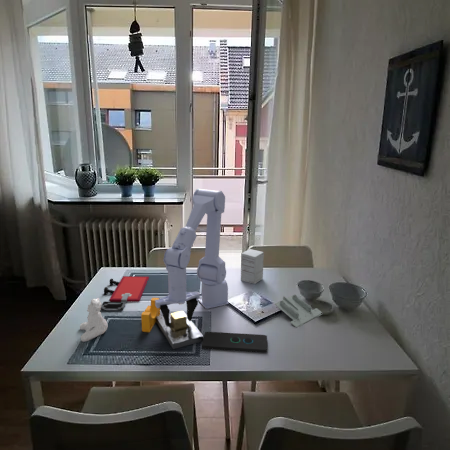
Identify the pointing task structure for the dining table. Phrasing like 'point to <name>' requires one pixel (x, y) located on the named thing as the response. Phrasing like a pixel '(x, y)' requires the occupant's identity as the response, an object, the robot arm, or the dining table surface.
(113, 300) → the red board with handle
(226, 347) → the smart home device
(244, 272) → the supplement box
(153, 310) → the pipe clamp
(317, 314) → the metal bracket
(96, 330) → the sitting furry creature
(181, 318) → the brass block
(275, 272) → the dining table surface
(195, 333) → the metal plate with hole
